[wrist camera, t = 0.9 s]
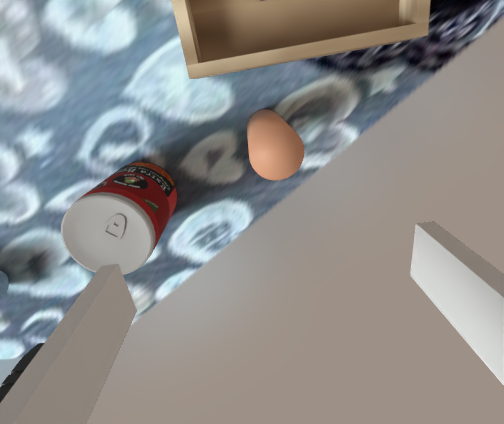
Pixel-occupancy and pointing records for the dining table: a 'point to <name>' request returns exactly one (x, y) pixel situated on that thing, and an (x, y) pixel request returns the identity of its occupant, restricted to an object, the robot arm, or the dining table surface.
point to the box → (288, 30)
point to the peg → (273, 146)
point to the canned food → (120, 218)
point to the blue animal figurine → (3, 284)
